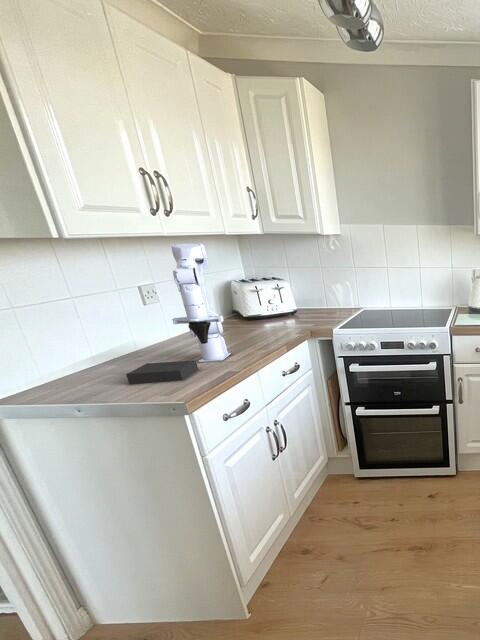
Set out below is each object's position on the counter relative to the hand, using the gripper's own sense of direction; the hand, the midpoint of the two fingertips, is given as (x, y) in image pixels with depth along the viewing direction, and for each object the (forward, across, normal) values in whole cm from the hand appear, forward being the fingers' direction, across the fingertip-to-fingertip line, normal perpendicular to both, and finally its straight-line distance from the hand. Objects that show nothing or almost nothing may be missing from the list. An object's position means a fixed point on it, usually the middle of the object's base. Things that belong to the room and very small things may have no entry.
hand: (204, 343), depth 146 cm
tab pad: (+9, -8, -6) cm, 14 cm away
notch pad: (+9, -14, -6) cm, 18 cm away
